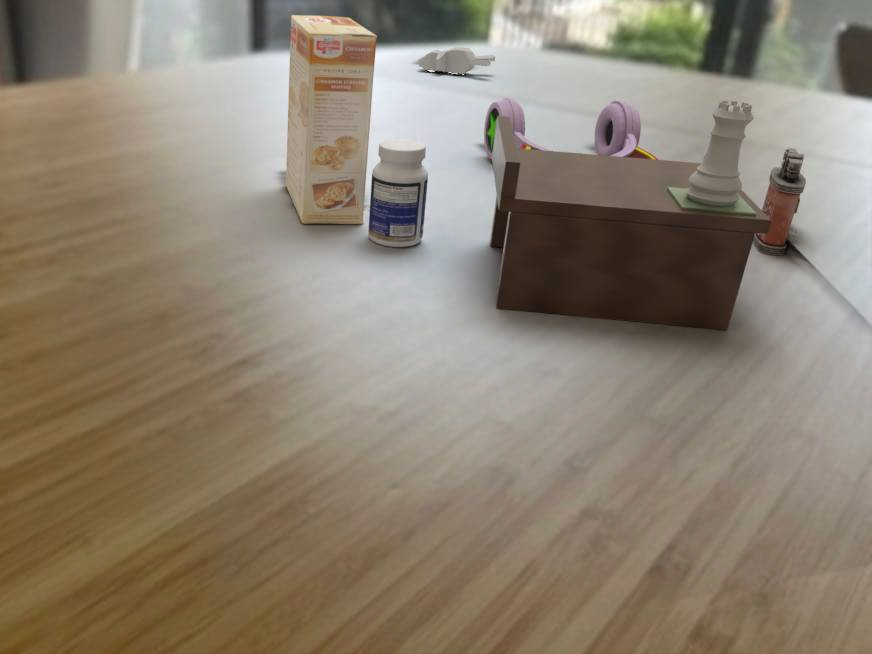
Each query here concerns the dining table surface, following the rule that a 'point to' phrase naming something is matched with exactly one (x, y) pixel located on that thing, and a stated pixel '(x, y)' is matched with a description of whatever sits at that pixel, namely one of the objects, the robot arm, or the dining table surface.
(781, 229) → the lighter
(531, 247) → the brown wooden desk
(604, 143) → the headphones
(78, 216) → the dining table surface
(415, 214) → the pill bottle
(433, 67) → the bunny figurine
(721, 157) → the rook chess piece
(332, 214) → the coffeecake box
